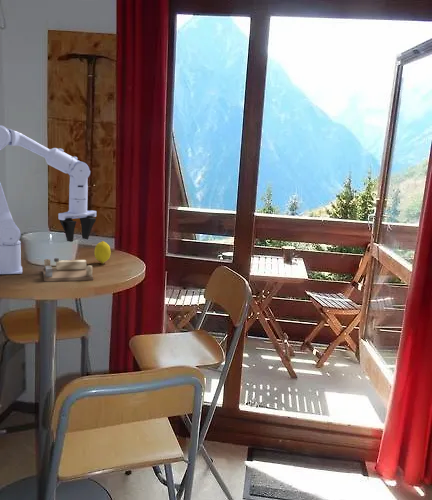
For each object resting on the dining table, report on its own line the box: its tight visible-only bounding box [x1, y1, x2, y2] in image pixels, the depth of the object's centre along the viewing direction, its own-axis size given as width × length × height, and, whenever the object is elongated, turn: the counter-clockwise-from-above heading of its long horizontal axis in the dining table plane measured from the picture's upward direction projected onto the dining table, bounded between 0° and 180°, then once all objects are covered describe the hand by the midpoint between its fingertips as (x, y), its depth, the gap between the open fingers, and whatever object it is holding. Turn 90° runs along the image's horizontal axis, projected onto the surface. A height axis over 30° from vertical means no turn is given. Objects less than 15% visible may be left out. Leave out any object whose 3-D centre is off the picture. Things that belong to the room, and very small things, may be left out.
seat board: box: [42, 258, 94, 283], centre depth 151 cm, size 14×12×4 cm
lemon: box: [93, 240, 112, 264], centre depth 169 cm, size 6×6×8 cm
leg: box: [53, 257, 87, 270], centre depth 155 cm, size 10×2×3 cm, turn 112°
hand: (77, 240), depth 160 cm, fingers open, 6 cm apart
